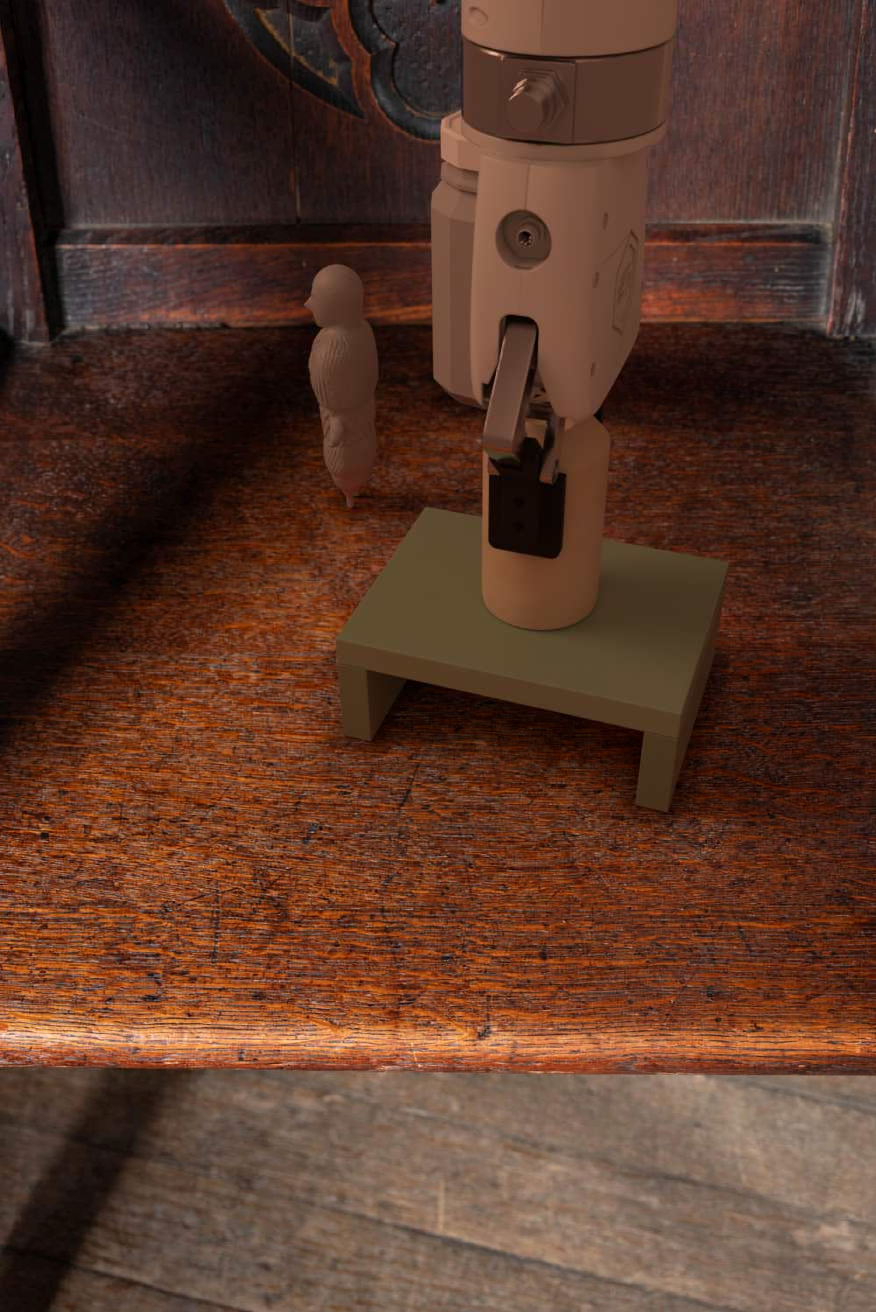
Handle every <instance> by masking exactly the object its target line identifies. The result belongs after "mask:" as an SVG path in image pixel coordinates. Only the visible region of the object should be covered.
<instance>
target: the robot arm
mask: <svg viewBox="0 0 876 1312" xmlns="http://www.w3.org/2000/svg"><path fill="white" fill-rule="evenodd" d="M460 1H461V3H460V4H461V5H460V6H461V9H460V10H461V12H460V13H461V19H460V20H461V22H460V23H461V24H460V25H461V28H460V29H461V31H460V32H461V34H460V79H461V80H460V110H461V131H462V134H463V136H464V137H465V138H466V139H467V140H468V141H470V142H471V143H473V144H475V145H476V146H478V147H481V154H480V165H479V177H478V188H477V201H476V205H475V211H476V214H475V228H474V244H473V263H472V285H471V316H470V361H471V380H472V389H473V394H474V396H475V398H476V400H477V401H478V403H479V404H480V405H481V406H482V407H484V408H488V410H487V413H486V418H485V422H484V426H483V431H482V436H481V449H482V451H483V450H484V451H485V452H486V453H487V454H488V455H489V456H488V466H487V469H488V474H489V504H488V542H489V544H490V545H491V546H492V547H493V548H495V549H500V550H505V551H510V552H516V553H521V554H526V555H532V556H537V557H542V558H548V559H555V558H557V557H558V556H559V554H560V552H561V550H562V547H563V530H564V513H565V495H566V478H567V474H565V473H559V466H560V458H561V451H562V443H563V436H564V429H565V421H566V418H572V420H573V422H576V423H582V422H584V421H586V420H587V419H589V418H590V417H591V416H594V417H595V418H596V419H597V420H598V421H599V422H600V423H601V424H602V425H603V426H604V415H605V413H604V412H605V404H604V403H603V402H604V401H605V400H606V398H607V397H608V395H609V392H610V390H611V389H612V387H613V385H614V383H615V382H616V380H617V378H618V376H619V374H620V373H621V371H622V368H623V367H624V365H625V363H626V361H627V359H628V357H629V355H630V353H631V352H632V349H633V348H634V345H635V344H636V343H635V342H636V340H637V338H638V334H639V331H640V327H641V320H642V305H643V287H644V286H643V285H644V284H643V283H644V265H645V245H646V225H647V201H648V167H649V166H648V164H649V163H648V161H649V157H648V155H649V154H648V148H651V147H655V145H656V144H658V143H660V142H661V141H662V140H663V138H664V137H665V135H666V131H667V123H668V111H669V99H670V89H671V80H672V79H671V78H672V68H673V57H674V48H675V47H674V46H675V34H676V25H677V13H678V4H679V0H460ZM533 387H537V388H540V390H541V392H544V393H547V396H548V398H549V401H550V402H547V401H540V400H533V399H530V397H531V393H532V388H533ZM540 396H542V395H539V394H535V396H534V397H533V398H538V397H540ZM526 418H531V419H537V420H544V421H546V429H545V436H544V444H543V449H542V447H541V445H540V444H539V442H538V440H537V439H536V438H532V437H527V434H528V433H527V431H526V428H525V423H526Z"/></svg>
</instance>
